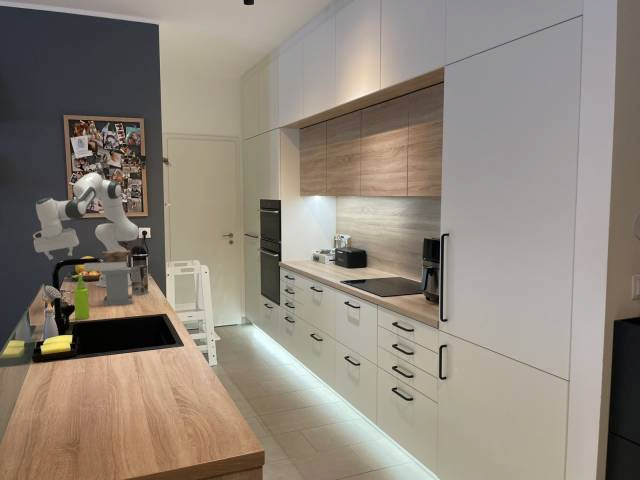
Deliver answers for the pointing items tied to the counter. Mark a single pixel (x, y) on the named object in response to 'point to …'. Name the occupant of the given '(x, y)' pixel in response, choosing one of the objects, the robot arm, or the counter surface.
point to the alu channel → (105, 266)
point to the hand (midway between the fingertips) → (60, 257)
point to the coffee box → (139, 279)
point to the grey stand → (116, 287)
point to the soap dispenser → (81, 299)
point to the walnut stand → (117, 260)
